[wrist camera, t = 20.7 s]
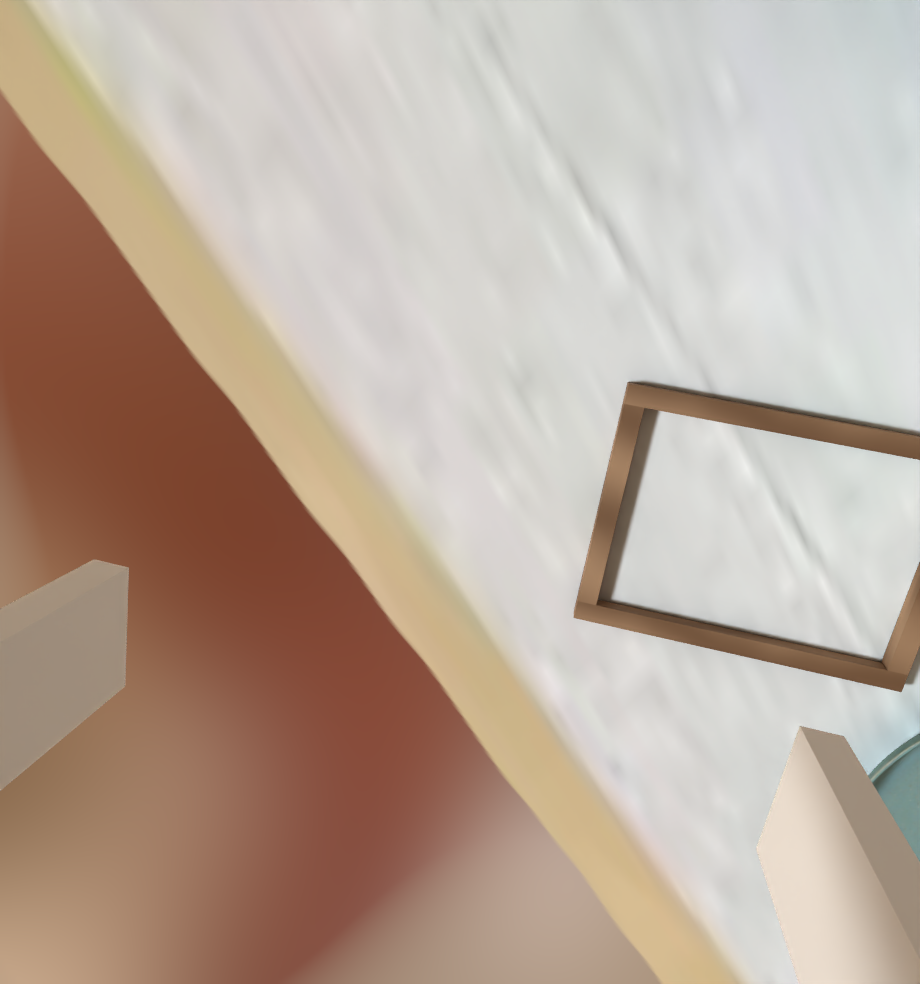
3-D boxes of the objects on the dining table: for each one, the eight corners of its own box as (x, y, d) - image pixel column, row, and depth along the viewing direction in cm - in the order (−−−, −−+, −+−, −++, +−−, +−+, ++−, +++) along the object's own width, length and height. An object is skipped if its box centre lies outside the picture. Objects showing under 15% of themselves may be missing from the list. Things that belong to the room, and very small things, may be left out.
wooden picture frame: (627, 382, 42) (628, 383, 41) (987, 448, 40) (997, 452, 39) (573, 611, 46) (573, 617, 45) (894, 683, 44) (901, 692, 43)
